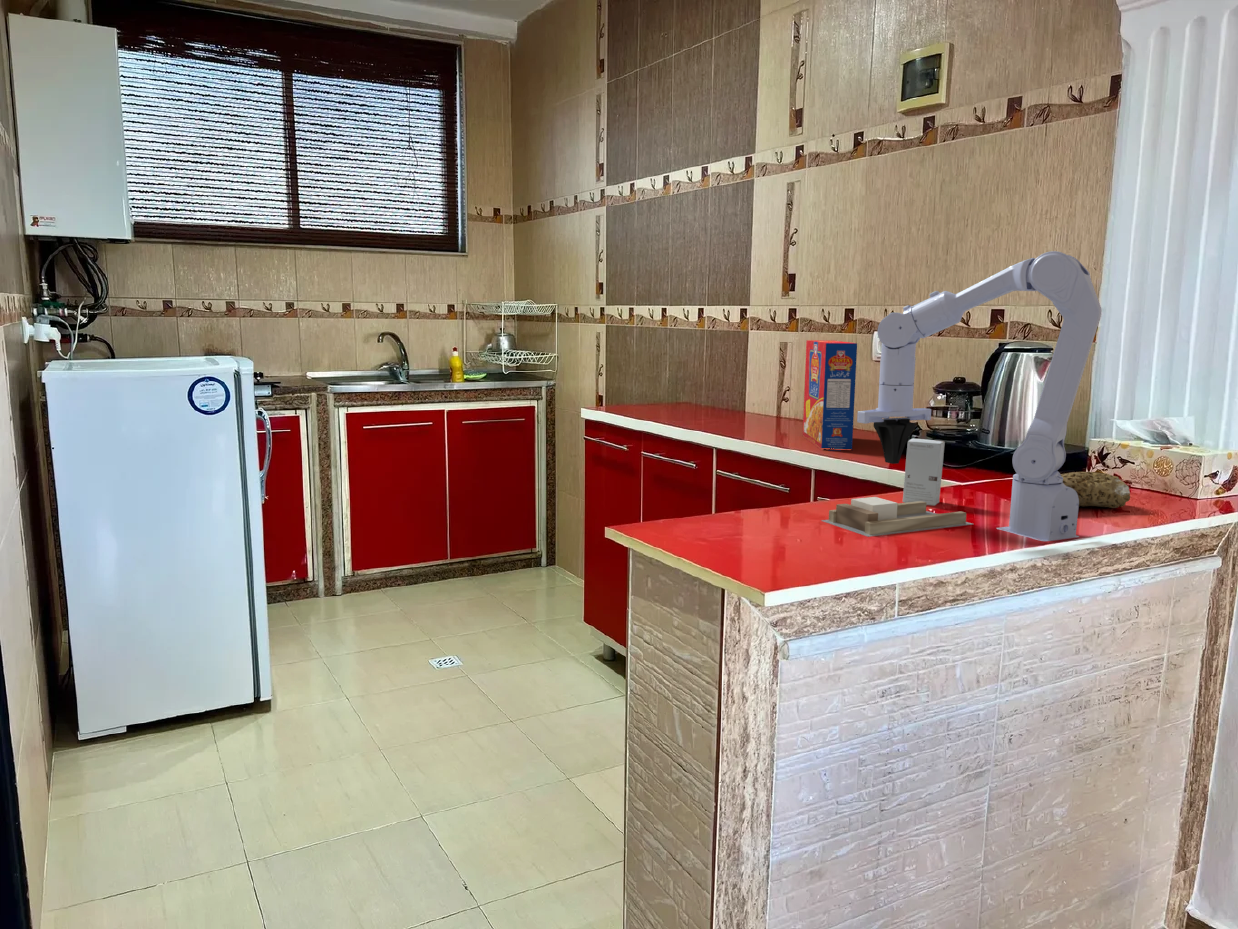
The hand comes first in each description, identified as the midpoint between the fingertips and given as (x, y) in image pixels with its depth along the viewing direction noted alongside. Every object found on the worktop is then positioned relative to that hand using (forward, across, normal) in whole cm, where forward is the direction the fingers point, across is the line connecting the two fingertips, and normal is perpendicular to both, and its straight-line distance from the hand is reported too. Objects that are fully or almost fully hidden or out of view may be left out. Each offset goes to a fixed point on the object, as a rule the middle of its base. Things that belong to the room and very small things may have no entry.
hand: (892, 462), depth 154 cm
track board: (+9, +4, +6) cm, 12 cm away
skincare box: (+10, -12, -5) cm, 16 cm away
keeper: (+9, +9, +6) cm, 14 cm away
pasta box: (+10, -47, -80) cm, 93 cm away
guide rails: (+9, +4, +6) cm, 12 cm away
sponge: (+10, -36, +7) cm, 38 cm away
